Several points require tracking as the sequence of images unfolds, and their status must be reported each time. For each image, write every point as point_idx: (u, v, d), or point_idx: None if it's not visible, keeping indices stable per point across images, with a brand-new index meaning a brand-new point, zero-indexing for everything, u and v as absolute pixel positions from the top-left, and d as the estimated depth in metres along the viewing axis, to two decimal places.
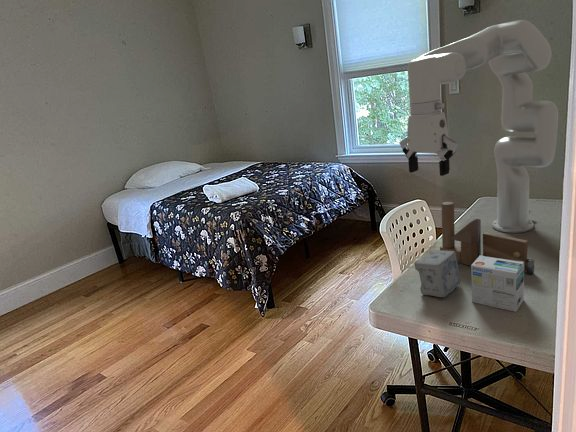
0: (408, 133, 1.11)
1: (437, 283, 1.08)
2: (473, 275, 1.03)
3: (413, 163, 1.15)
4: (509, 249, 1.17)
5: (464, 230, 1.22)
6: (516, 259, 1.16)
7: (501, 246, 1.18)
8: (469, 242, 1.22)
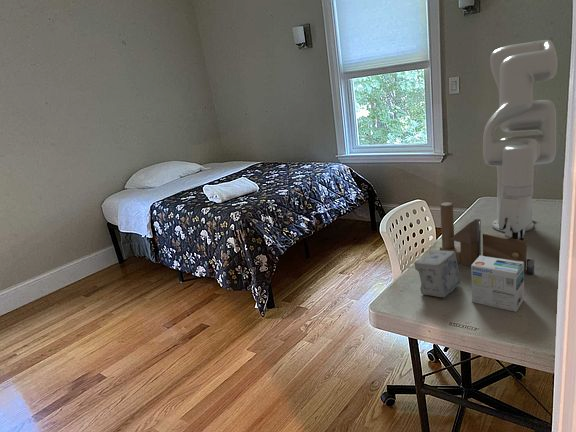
0: (516, 216, 1.12)
1: (437, 283, 1.08)
2: (473, 275, 1.04)
3: None
4: (508, 249, 1.17)
5: (463, 231, 1.22)
6: (515, 260, 1.16)
7: (501, 246, 1.18)
8: (469, 243, 1.22)
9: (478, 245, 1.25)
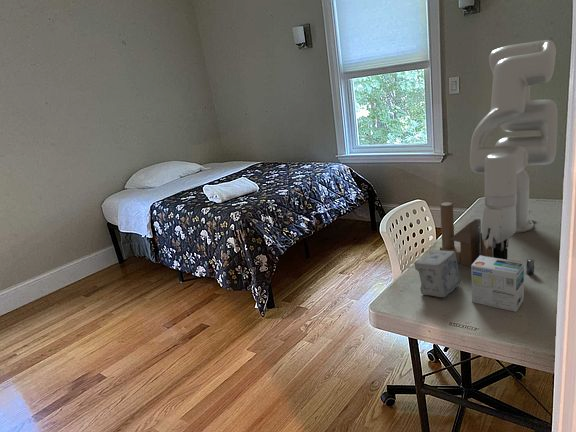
0: (499, 226, 1.09)
1: (437, 283, 1.08)
2: (473, 275, 1.03)
3: None
4: (484, 254, 1.17)
5: (463, 231, 1.22)
6: None
7: (483, 249, 1.18)
8: (469, 243, 1.22)
9: (478, 245, 1.25)
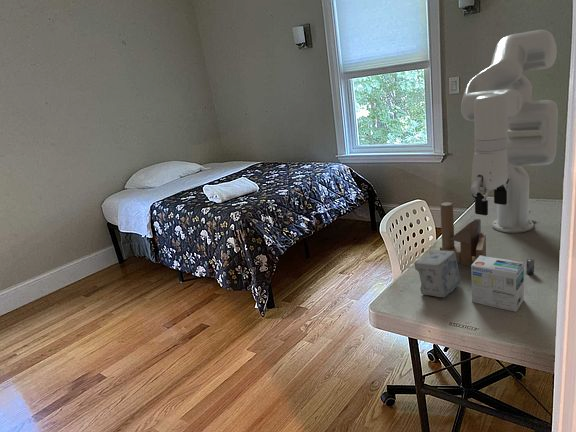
0: (489, 172, 1.03)
1: (437, 283, 1.08)
2: (473, 275, 1.04)
3: None
4: None
5: (463, 231, 1.22)
6: None
7: None
8: (469, 243, 1.22)
9: None
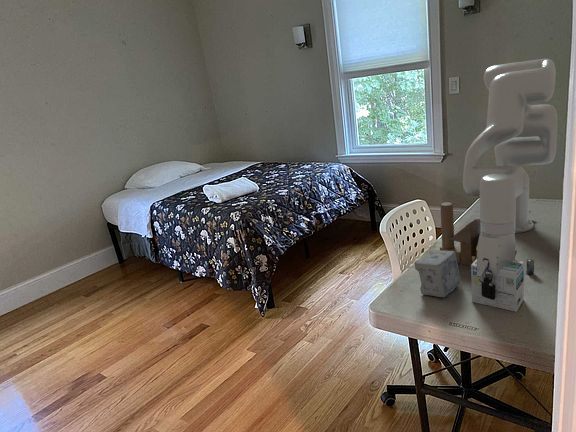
0: (496, 257, 0.97)
1: (437, 283, 1.08)
2: (473, 275, 1.03)
3: None
4: None
5: (463, 231, 1.22)
6: None
7: None
8: (469, 243, 1.22)
9: None
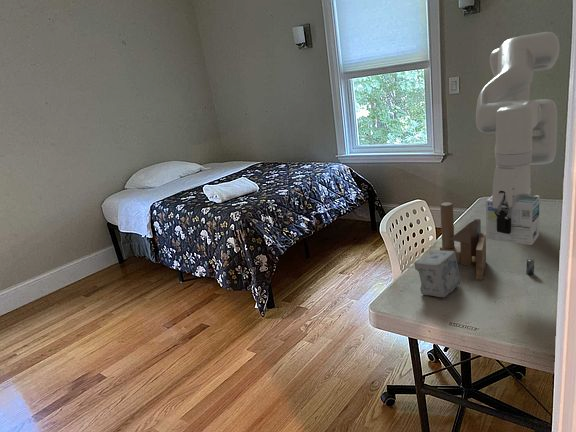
0: (512, 188, 0.97)
1: (437, 283, 1.08)
2: (489, 211, 1.04)
3: None
4: None
5: (463, 231, 1.22)
6: None
7: None
8: (469, 243, 1.22)
9: None
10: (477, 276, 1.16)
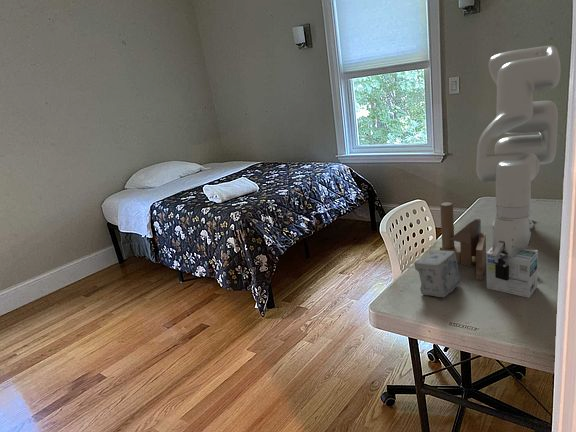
0: (511, 239, 1.01)
1: (437, 283, 1.08)
2: (488, 263, 1.08)
3: None
4: None
5: (463, 231, 1.22)
6: None
7: None
8: (469, 243, 1.22)
9: None
10: (477, 276, 1.16)
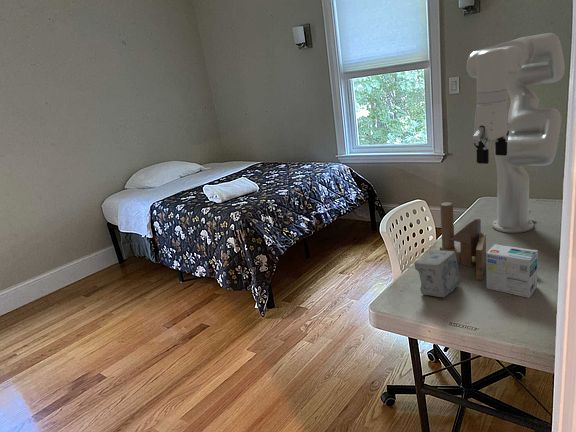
0: (490, 122, 1.11)
1: (437, 283, 1.08)
2: (488, 263, 1.08)
3: None
4: None
5: (463, 231, 1.22)
6: None
7: None
8: (469, 243, 1.22)
9: None
10: (477, 276, 1.16)
